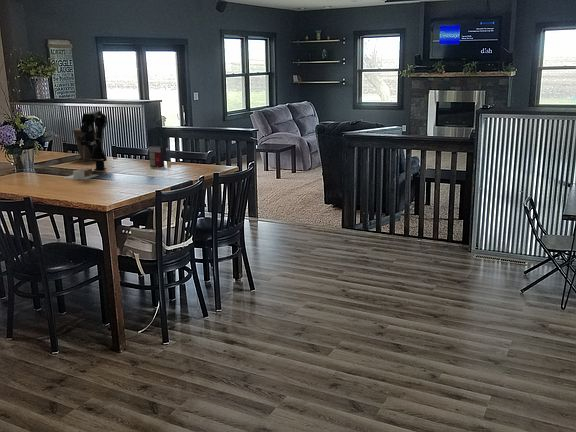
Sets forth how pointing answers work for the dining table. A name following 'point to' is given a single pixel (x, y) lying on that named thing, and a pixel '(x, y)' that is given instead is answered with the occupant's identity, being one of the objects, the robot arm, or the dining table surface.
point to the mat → (80, 177)
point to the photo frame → (82, 148)
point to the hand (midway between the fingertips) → (92, 154)
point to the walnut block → (82, 172)
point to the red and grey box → (156, 156)
